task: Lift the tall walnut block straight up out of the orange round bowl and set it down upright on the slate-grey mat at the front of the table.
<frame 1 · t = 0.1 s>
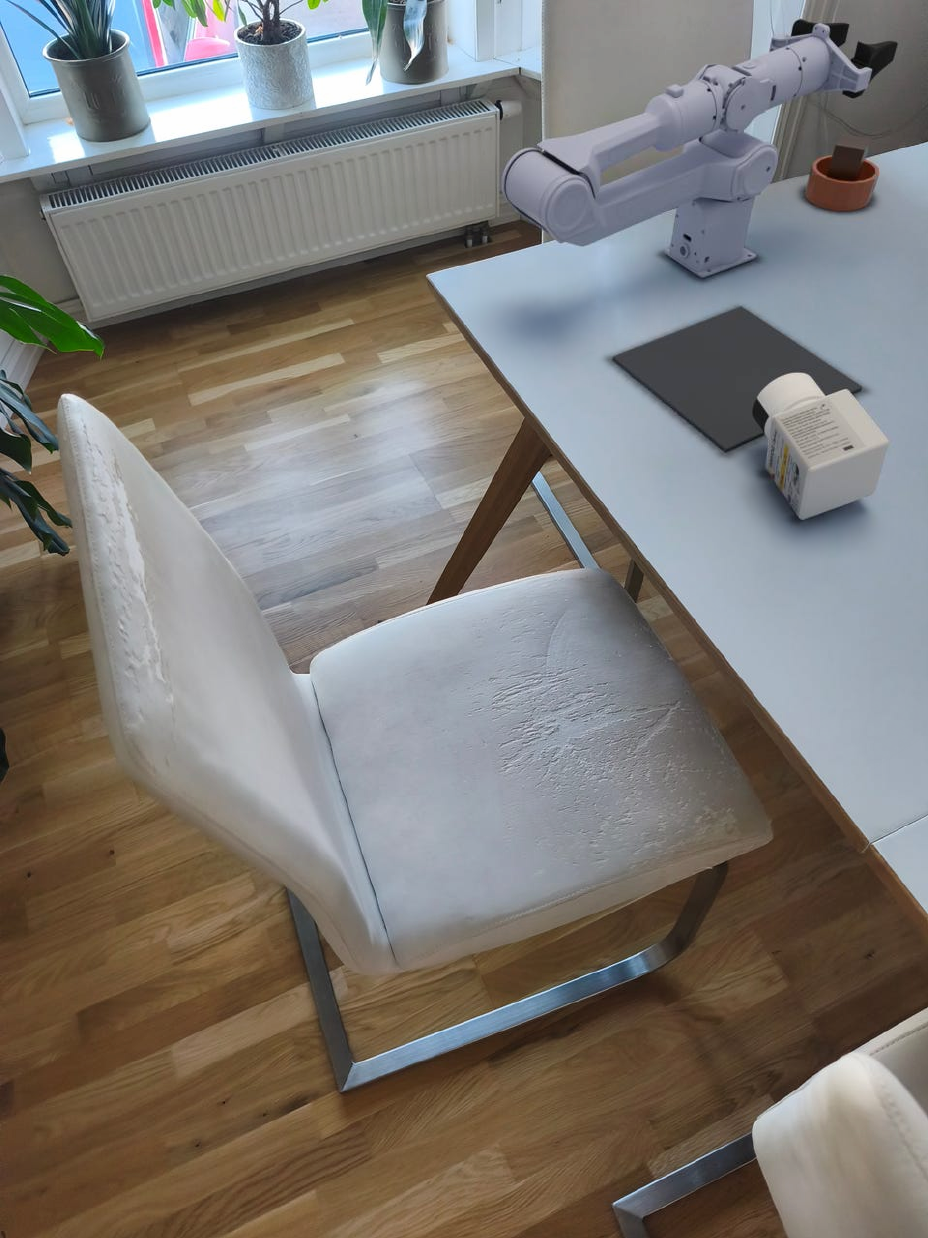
hand: (868, 41, 104), 22 cm above the table, tool horizontal, fingers open, 7 cm apart
mat: (733, 374, 99), on the table
orange round bowl: (837, 196, 125), on the table, touching block
block: (838, 192, 125), point 1 cm above the table, touching orange round bowl
container: (845, 485, 80), point 5 cm above the table
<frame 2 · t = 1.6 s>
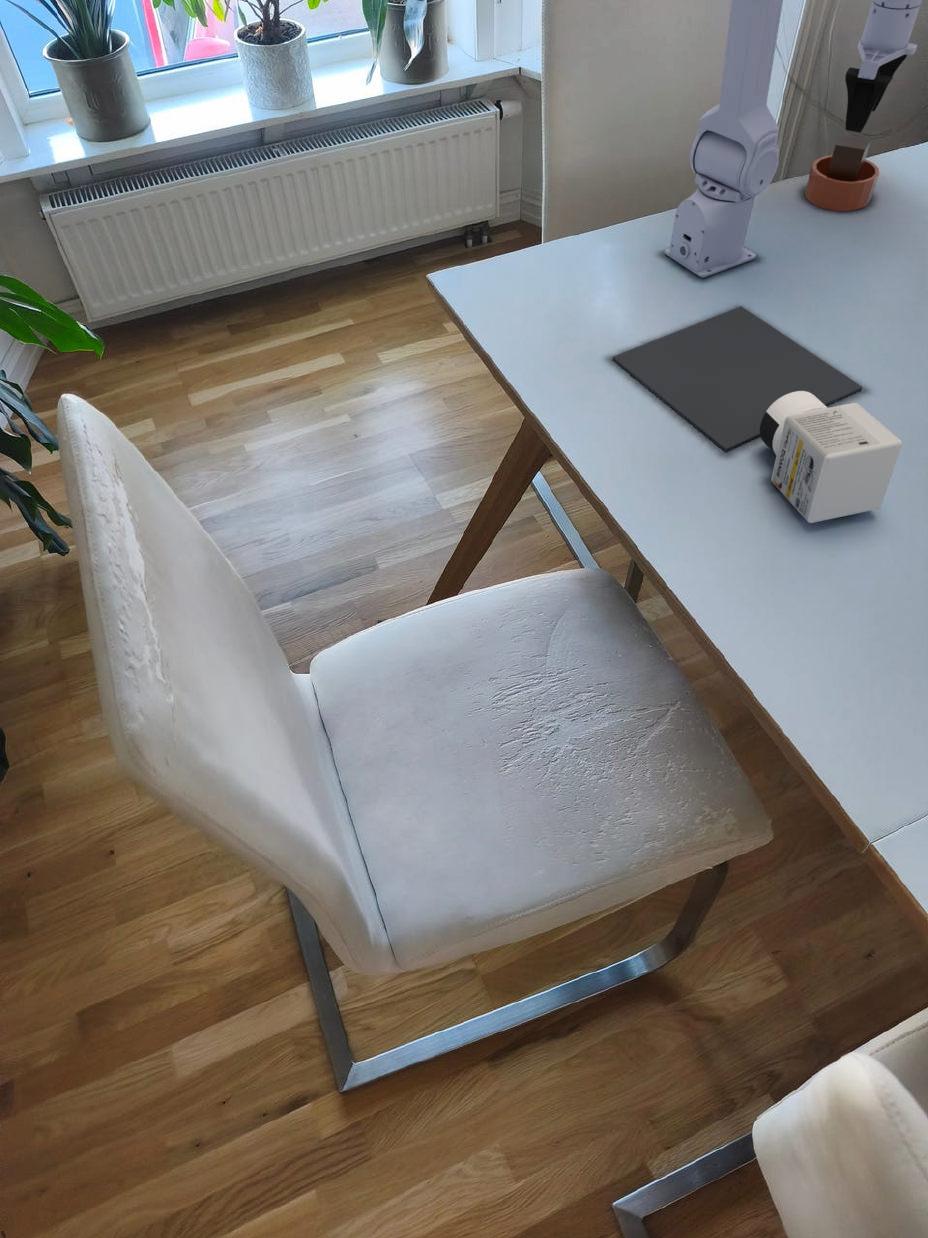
hand: (860, 119, 117), 10 cm above the table, tool pointing down, fingers open, 7 cm apart
container: (856, 485, 79), point 5 cm above the table
everything else where it was.
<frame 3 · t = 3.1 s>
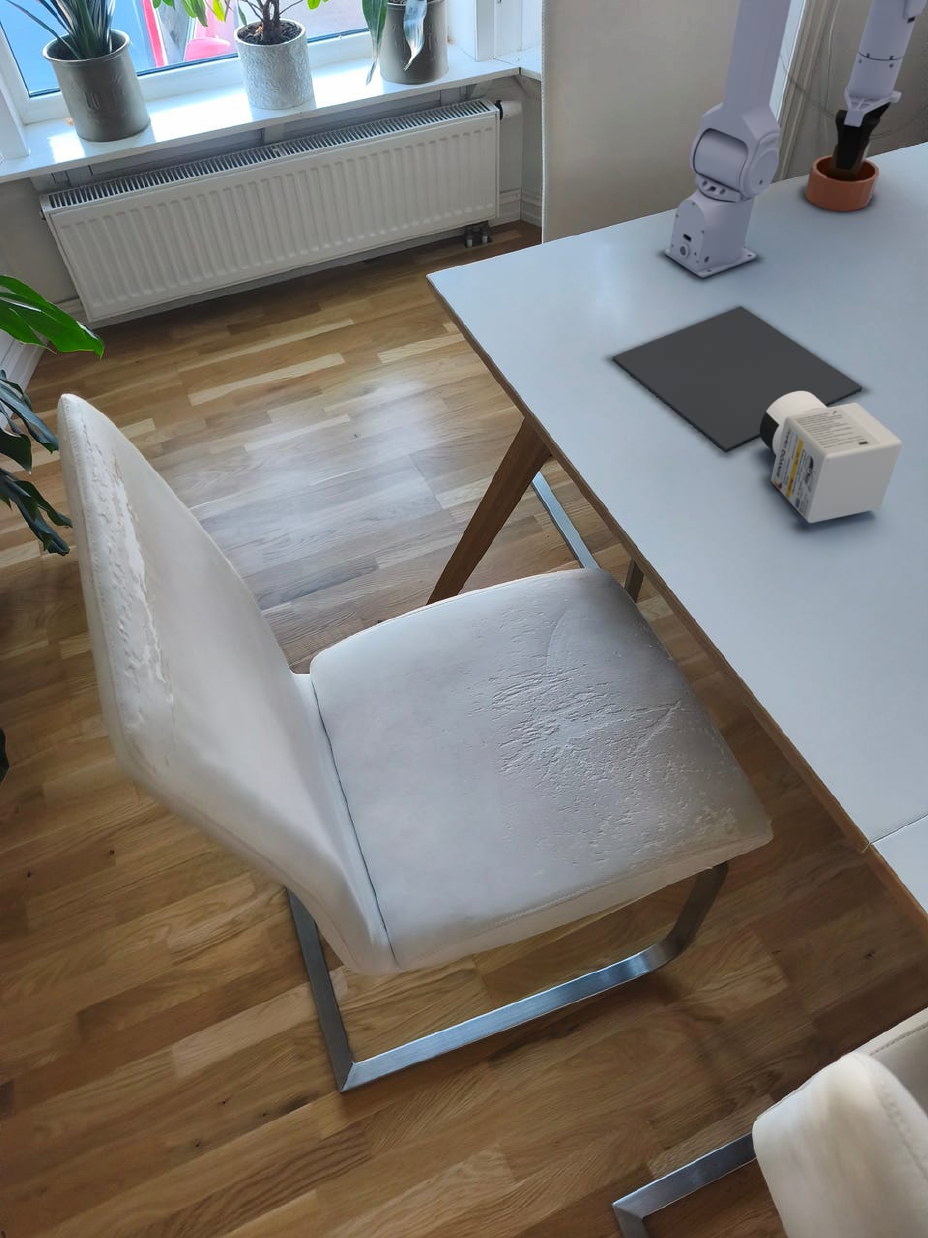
hand: (847, 161, 121), 5 cm above the table, tool pointing down, fingers closed on block, 4 cm apart
block: (838, 192, 125), point 1 cm above the table, touching orange round bowl, gripper
everything else where it was.
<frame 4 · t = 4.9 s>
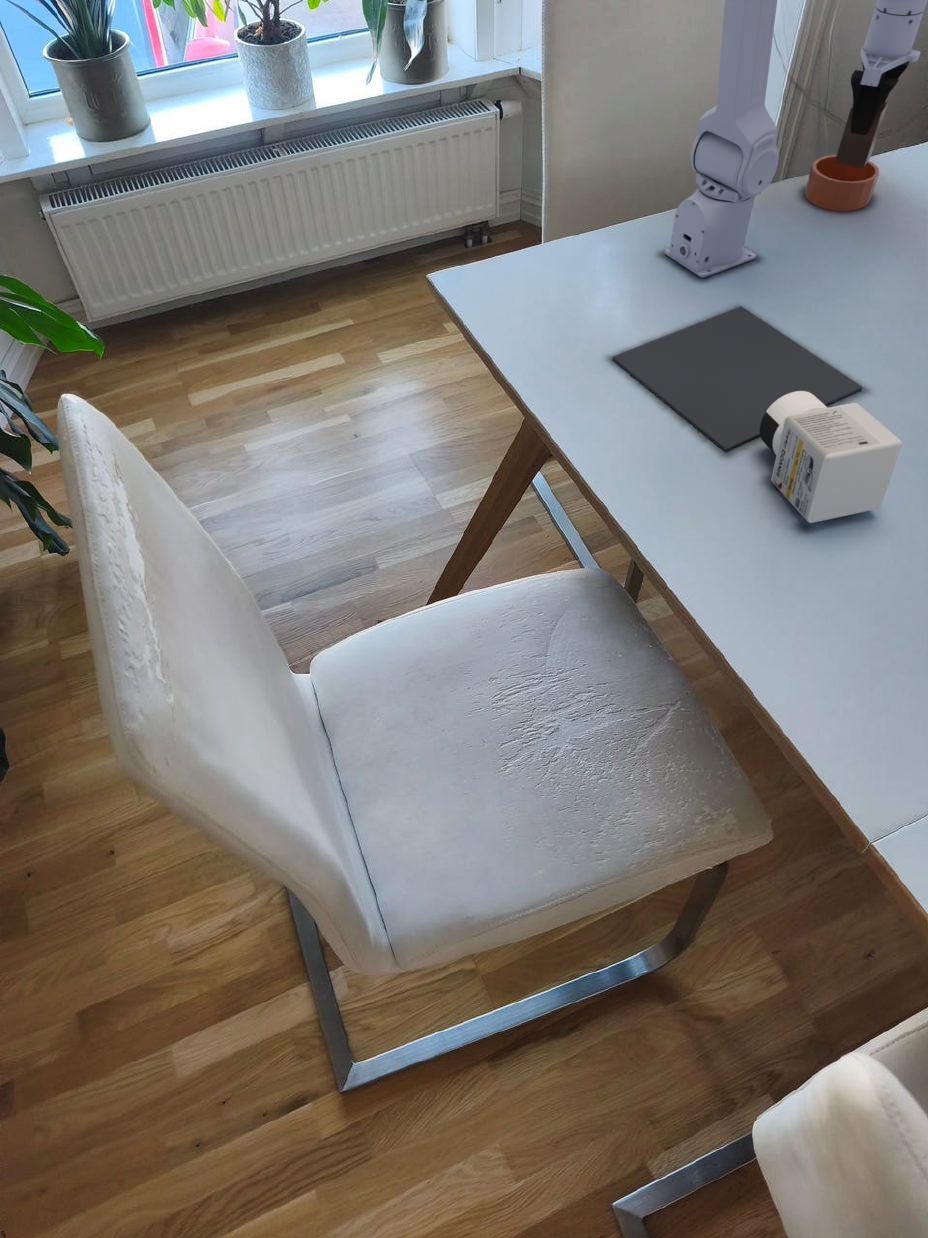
hand: (862, 126, 116), 10 cm above the table, tool pointing down, fingers closed on block, 4 cm apart
orange round bowl: (837, 196, 125), on the table
block: (852, 159, 119), point 6 cm above the table, touching gripper
everything else where it was.
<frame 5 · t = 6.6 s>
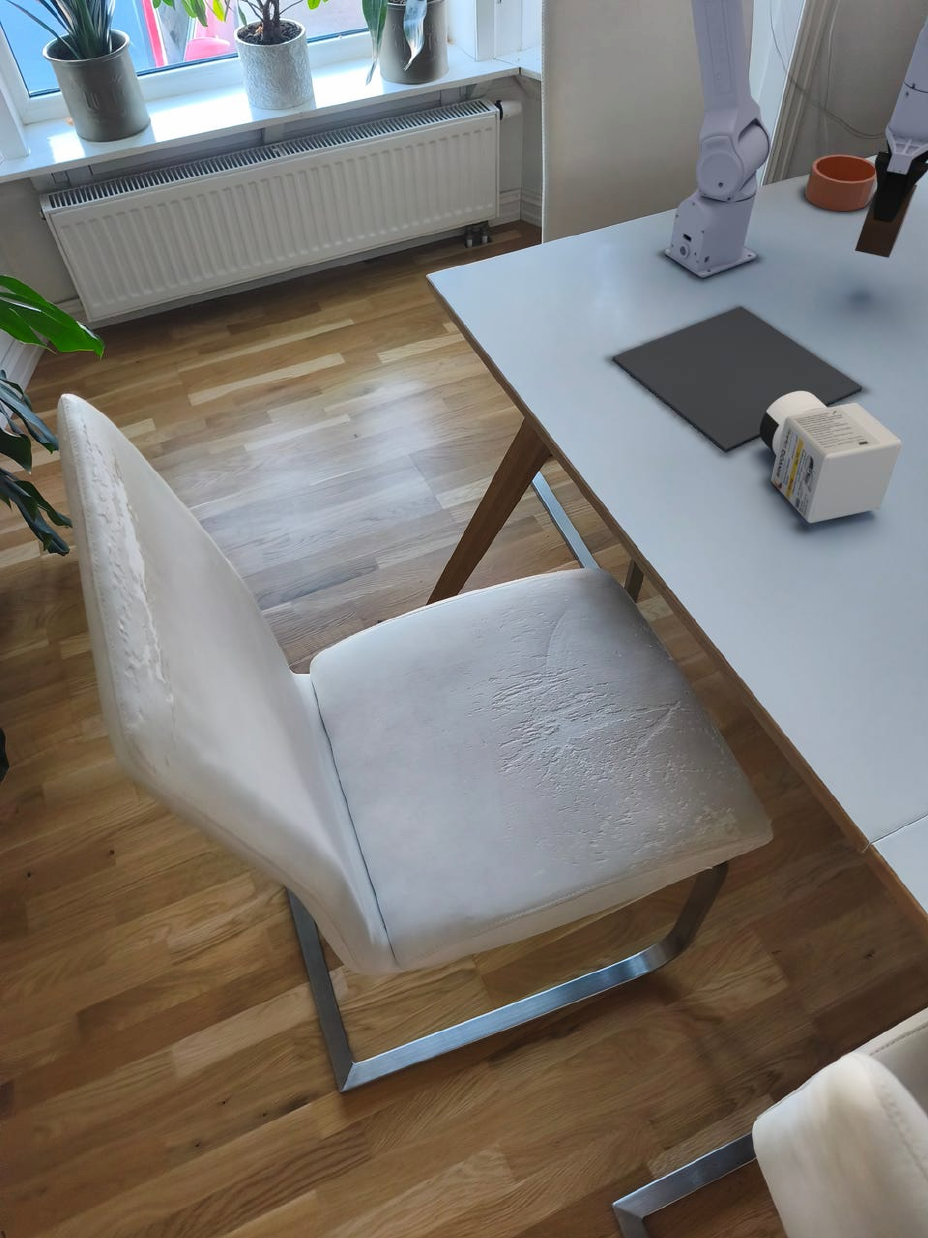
hand: (886, 211, 100), 10 cm above the table, tool pointing down, fingers closed on block, 4 cm apart
block: (875, 246, 104), point 6 cm above the table, touching gripper
everything else where it was.
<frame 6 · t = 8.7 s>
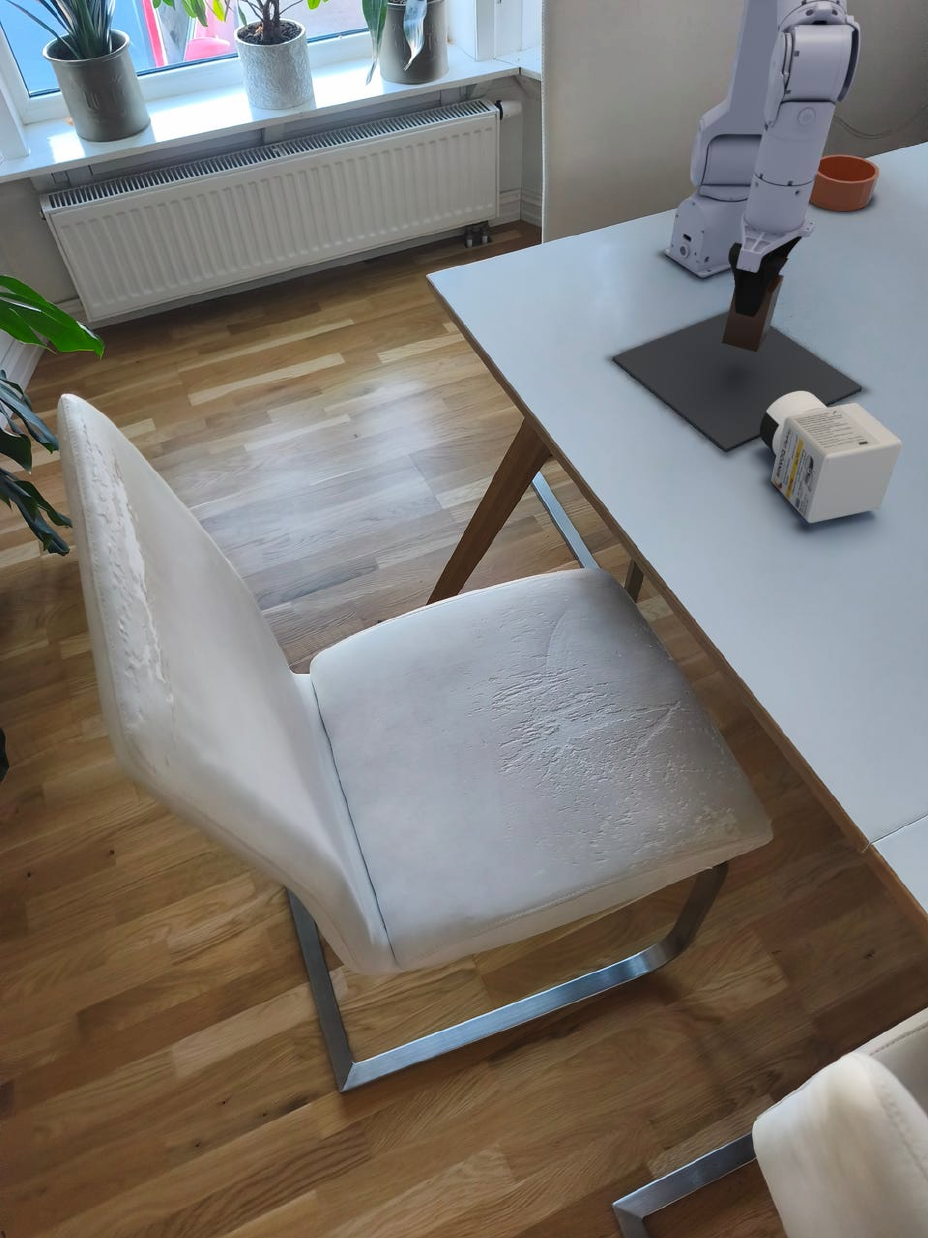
hand: (751, 303, 92), 9 cm above the table, tool pointing down, fingers closed on block, 4 cm apart
block: (744, 338, 95), point 5 cm above the table, touching gripper
everything else where it was.
when the fingers open (5 cm above the table, at t = 10.1 s): block stays where it is, resting on mat.
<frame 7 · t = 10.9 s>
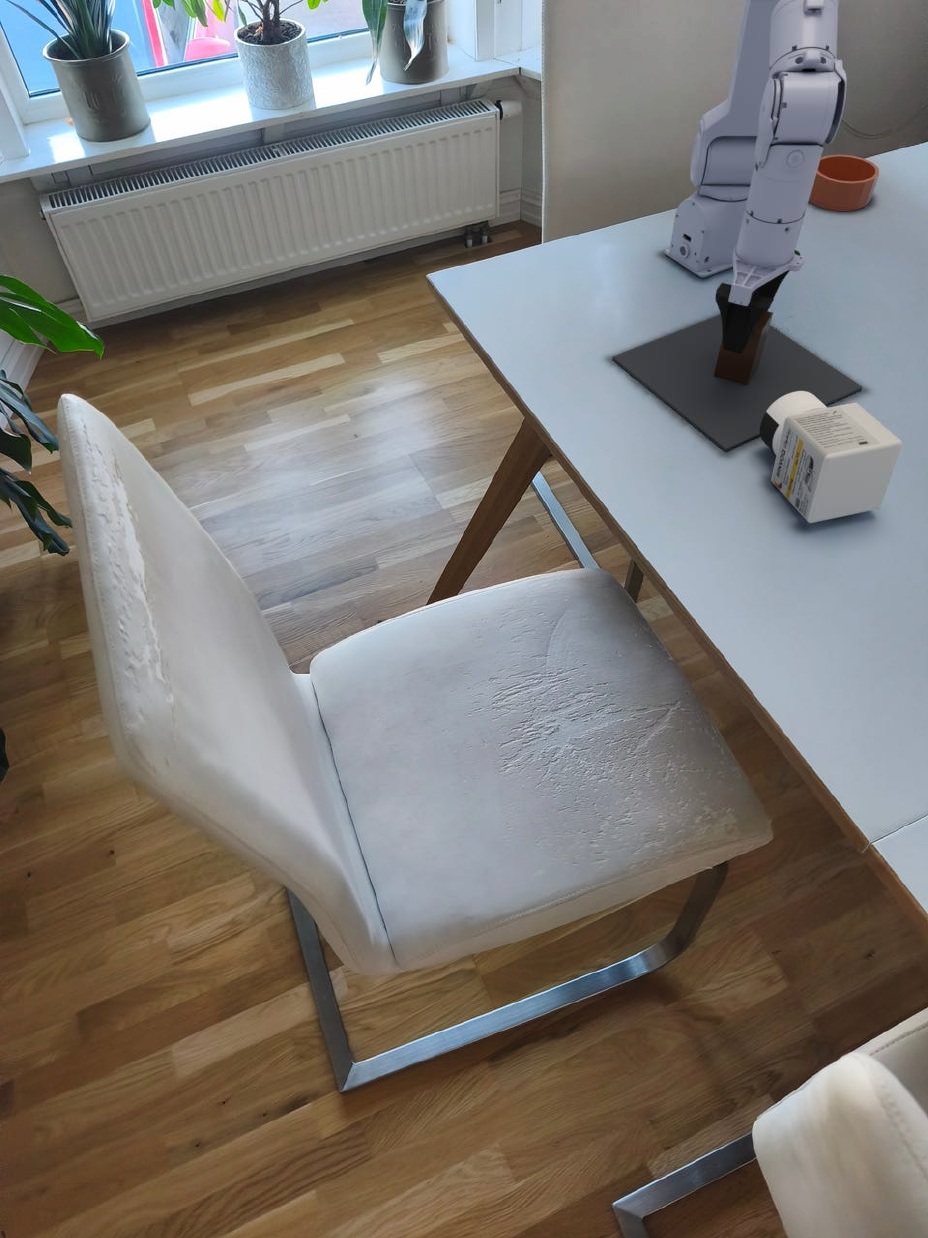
hand: (744, 332, 94), 5 cm above the table, tool pointing down, fingers open, 7 cm apart
block: (735, 371, 98), resting on mat
everything else where it was.
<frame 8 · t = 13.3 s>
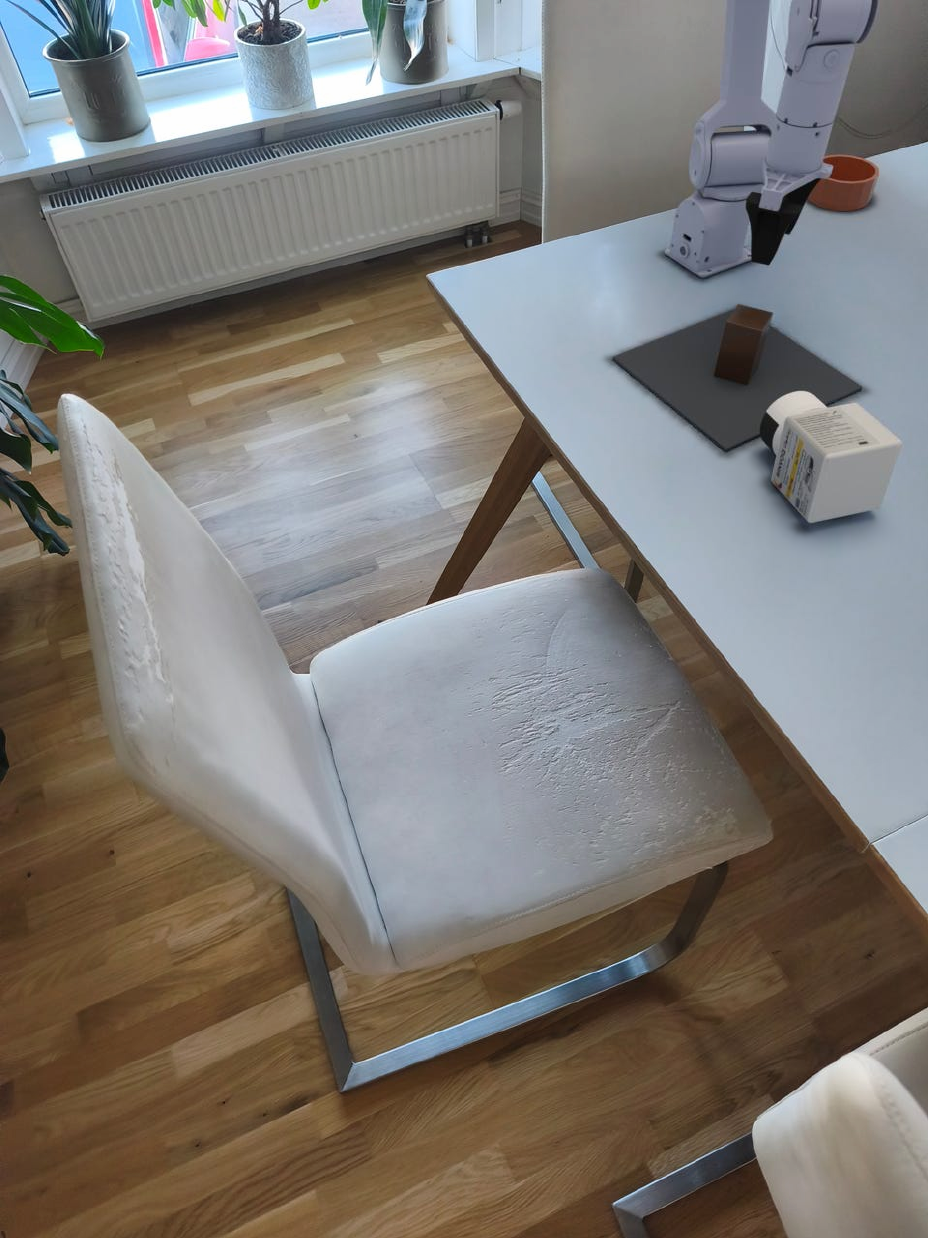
hand: (771, 246, 96), 10 cm above the table, tool pointing down, fingers open, 7 cm apart
nothing on the table moved.
at the end: block inside the target area on the mat (0.1 cm from its centre), point 0.4 cm above the mat's base; block tilted 0° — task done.
